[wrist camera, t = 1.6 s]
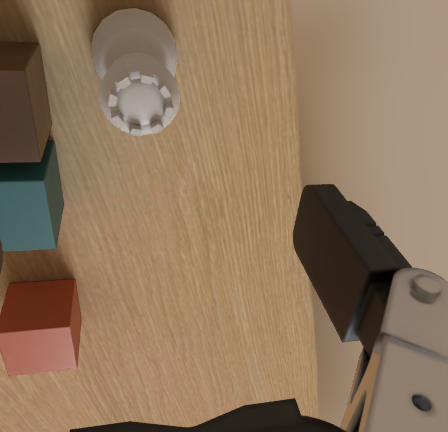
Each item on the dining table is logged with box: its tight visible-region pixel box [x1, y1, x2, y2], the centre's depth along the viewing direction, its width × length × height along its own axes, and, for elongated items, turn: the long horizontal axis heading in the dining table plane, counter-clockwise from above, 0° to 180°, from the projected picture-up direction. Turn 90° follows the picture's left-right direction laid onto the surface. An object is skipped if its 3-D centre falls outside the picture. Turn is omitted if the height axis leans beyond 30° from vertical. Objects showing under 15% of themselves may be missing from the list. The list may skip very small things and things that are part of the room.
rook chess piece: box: [91, 8, 180, 137], centre depth 20 cm, size 4×4×8 cm
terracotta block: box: [0, 279, 81, 376], centre depth 30 cm, size 4×4×4 cm
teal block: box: [0, 142, 64, 252], centre depth 24 cm, size 4×4×4 cm
